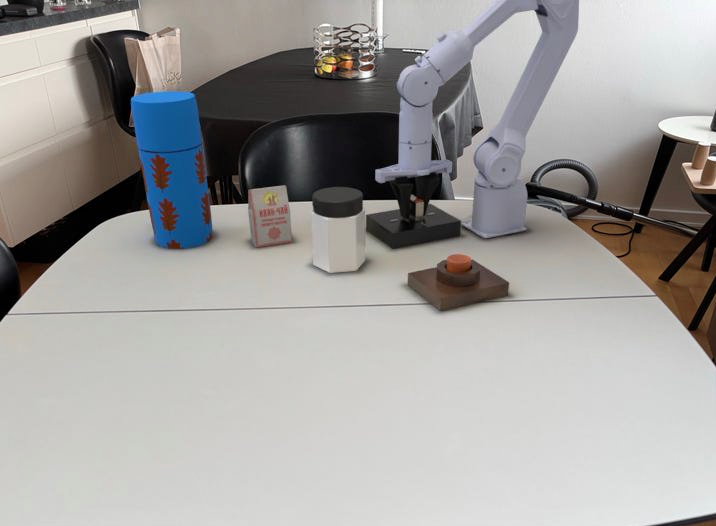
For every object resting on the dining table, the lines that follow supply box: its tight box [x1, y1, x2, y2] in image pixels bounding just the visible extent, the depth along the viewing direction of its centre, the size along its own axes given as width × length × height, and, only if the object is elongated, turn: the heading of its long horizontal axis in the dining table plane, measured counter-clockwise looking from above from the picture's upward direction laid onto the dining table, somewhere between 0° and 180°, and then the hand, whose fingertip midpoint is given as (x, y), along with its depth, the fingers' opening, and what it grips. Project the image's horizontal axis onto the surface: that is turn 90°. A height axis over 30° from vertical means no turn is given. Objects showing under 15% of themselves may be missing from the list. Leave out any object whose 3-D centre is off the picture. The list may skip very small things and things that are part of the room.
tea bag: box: [247, 185, 293, 248], centre depth 123 cm, size 4×7×10 cm, turn 111°
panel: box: [365, 203, 462, 250], centre depth 127 cm, size 14×11×3 cm
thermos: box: [130, 90, 214, 250], centre depth 121 cm, size 11×11×25 cm
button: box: [446, 253, 472, 272], centre depth 104 cm, size 4×4×2 cm
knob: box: [409, 194, 424, 222], centre depth 125 cm, size 5×2×4 cm, turn 24°
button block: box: [407, 259, 510, 312], centre depth 105 cm, size 12×10×4 cm
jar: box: [310, 186, 366, 274], centre depth 113 cm, size 9×8×12 cm
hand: (412, 215), depth 126 cm, fingers open, 3 cm apart
